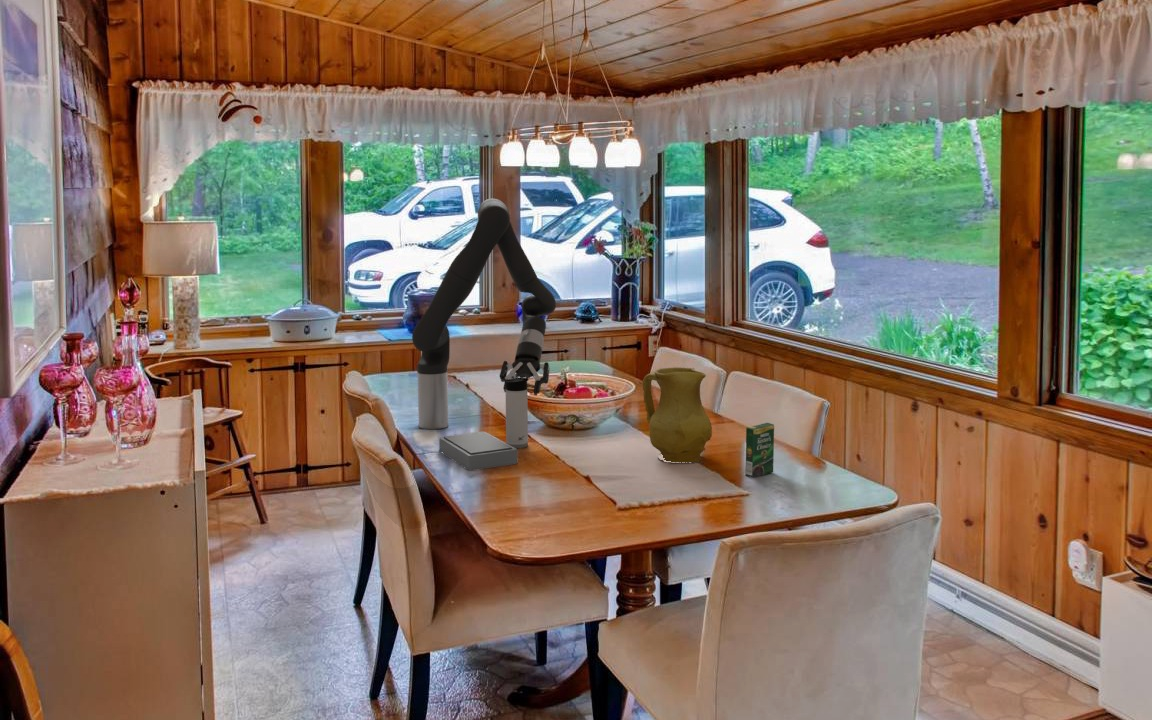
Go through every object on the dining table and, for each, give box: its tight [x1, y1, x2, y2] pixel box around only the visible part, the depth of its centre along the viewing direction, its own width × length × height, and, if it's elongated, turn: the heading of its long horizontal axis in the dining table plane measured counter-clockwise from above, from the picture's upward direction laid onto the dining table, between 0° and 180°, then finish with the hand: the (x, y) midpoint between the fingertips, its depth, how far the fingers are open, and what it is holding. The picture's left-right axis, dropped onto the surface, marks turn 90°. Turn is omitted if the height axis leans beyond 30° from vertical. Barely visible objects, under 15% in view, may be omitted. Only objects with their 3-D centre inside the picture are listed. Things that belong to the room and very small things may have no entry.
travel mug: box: [505, 377, 529, 449], centre depth 283 cm, size 6×7×20 cm
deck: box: [438, 431, 518, 472], centre depth 272 cm, size 22×14×4 cm, turn 28°
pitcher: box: [642, 366, 713, 464], centre depth 271 cm, size 17×19×25 cm
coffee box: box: [744, 422, 775, 479], centre depth 255 cm, size 8×3×13 cm, turn 126°
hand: (520, 393), depth 286 cm, fingers open, 8 cm apart
